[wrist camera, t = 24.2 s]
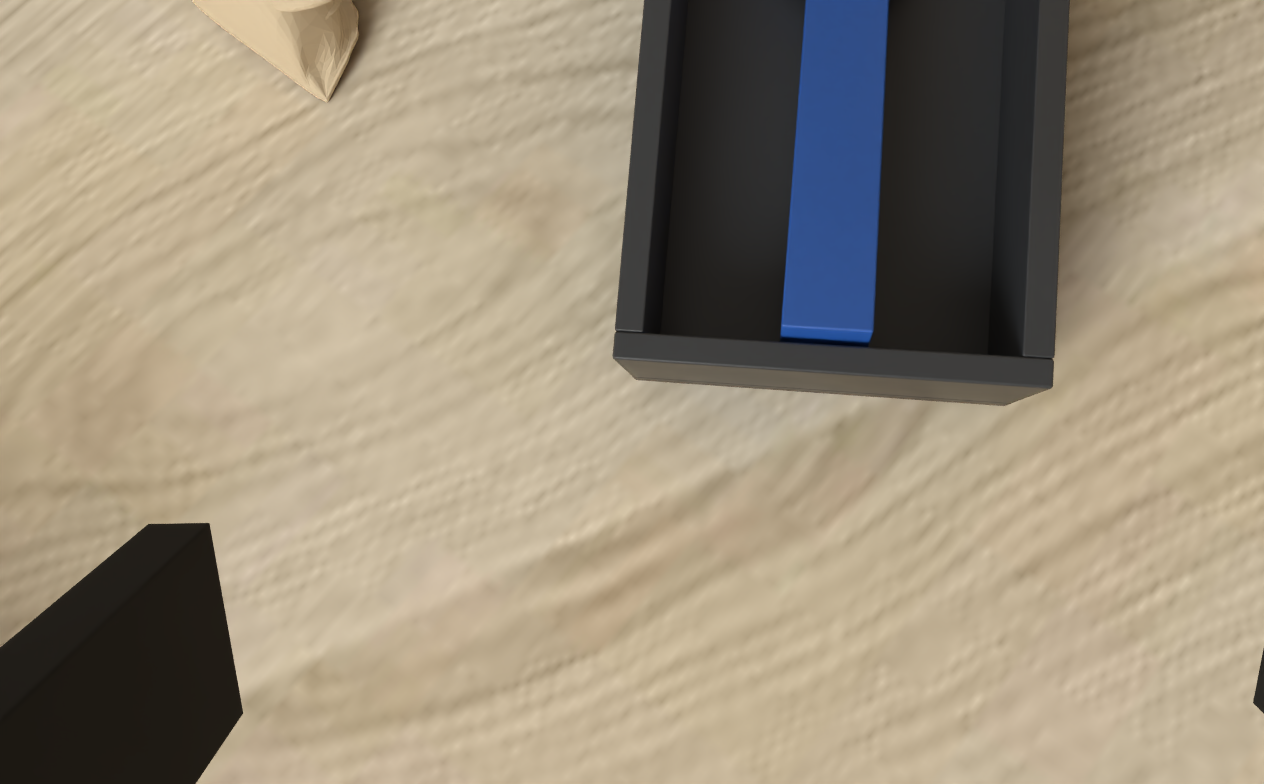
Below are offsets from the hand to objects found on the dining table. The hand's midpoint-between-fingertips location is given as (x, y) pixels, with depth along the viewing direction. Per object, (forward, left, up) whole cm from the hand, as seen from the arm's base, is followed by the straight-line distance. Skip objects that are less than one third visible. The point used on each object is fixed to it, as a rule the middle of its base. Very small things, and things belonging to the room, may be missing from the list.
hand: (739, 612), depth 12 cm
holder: (-11, +11, -18) cm, 24 cm away
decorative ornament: (-24, -2, -18) cm, 30 cm away
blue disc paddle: (-10, +10, -16) cm, 21 cm away
